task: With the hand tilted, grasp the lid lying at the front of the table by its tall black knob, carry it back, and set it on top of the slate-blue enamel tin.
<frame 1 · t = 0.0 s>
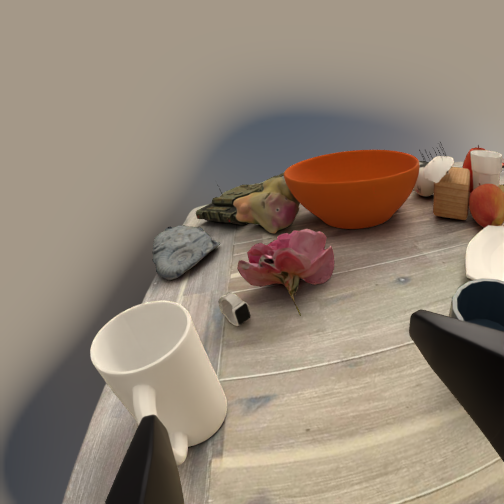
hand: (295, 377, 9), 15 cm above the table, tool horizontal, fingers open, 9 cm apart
flower: (291, 290, 40), on the table
sculpture: (259, 203, 64), point 4 cm above the table
toy tank: (258, 205, 75), on the table
apple 2: (493, 224, 38), point 2 cm above the table
tin: (482, 347, 23), on the table
fossil: (198, 281, 54), on the table
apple: (478, 194, 53), on the table, touching wooden block
pincushion: (443, 176, 45), point 7 cm above the table, touching wooden block
mug: (188, 430, 24), on the table
cup: (485, 211, 46), on the table
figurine: (441, 178, 55), point 4 cm above the table
wooden block: (450, 201, 44), point 4 cm above the table, touching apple, pincushion
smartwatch: (238, 323, 37), on the table
bowl: (357, 215, 57), on the table
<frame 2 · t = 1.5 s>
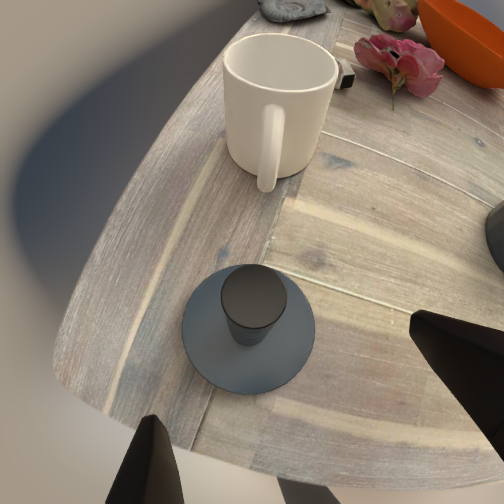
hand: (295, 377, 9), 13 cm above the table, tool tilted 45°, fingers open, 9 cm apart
flower: (389, 85, 34), on the table
lid: (248, 328, 22), point 1 cm above the table
fossil: (295, 33, 42), on the table
mug: (268, 162, 28), on the table
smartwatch: (336, 87, 33), on the table
bowl: (461, 64, 39), on the table
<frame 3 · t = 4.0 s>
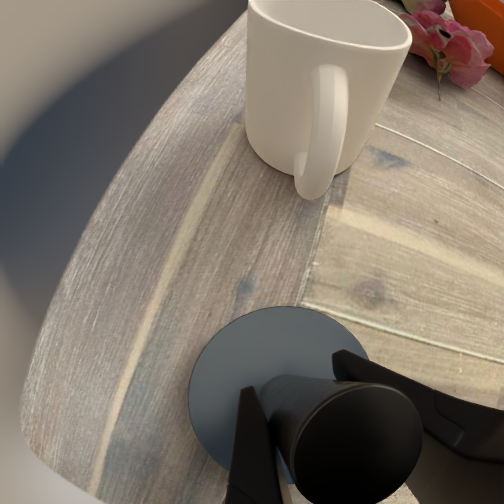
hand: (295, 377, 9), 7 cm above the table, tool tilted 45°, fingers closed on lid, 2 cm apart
flower: (430, 72, 26), on the table
lid: (284, 398, 14), point 1 cm above the table, touching gripper
mug: (301, 157, 20), on the table
bowl: (492, 57, 32), on the table
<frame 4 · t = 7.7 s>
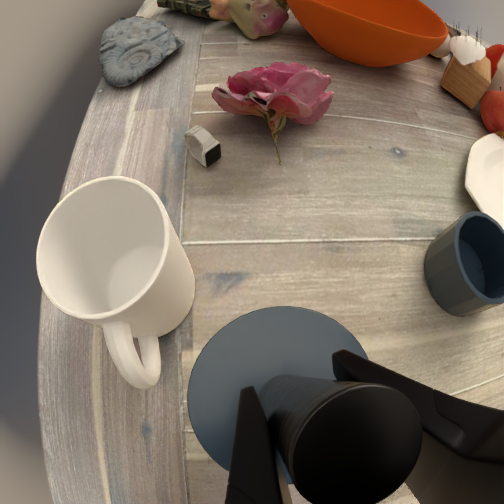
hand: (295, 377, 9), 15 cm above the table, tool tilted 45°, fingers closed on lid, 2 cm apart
flower: (270, 123, 32), on the table
lid: (284, 399, 14), point 9 cm above the table, touching gripper
sculpture: (240, 0, 38), point 4 cm above the table
apple 2: (498, 134, 32), point 2 cm above the table
tin: (457, 274, 26), on the table
fossil: (152, 85, 38), on the table
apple: (486, 83, 40), on the table, touching wooden block
pincushion: (467, 56, 30), point 7 cm above the table, touching wooden block
mug: (151, 312, 24), on the table
cup: (490, 108, 37), on the table
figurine: (456, 48, 38), point 4 cm above the table
wooden block: (465, 85, 32), point 4 cm above the table, touching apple, pincushion
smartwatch: (204, 160, 29), on the table
bowl: (354, 44, 39), on the table
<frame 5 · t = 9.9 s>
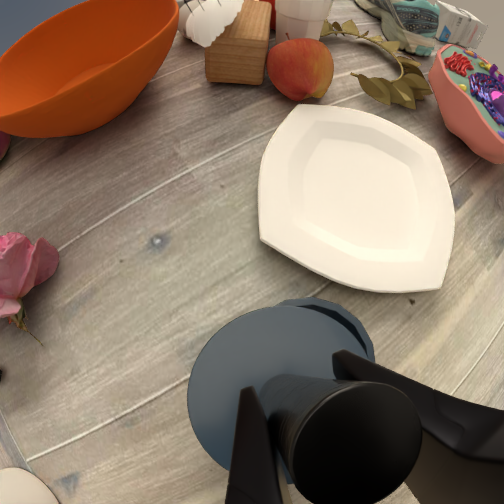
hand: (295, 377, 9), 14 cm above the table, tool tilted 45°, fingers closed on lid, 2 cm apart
flower: (23, 294, 23), on the table
lid: (284, 398, 14), point 8 cm above the table, touching gripper
cell model: (466, 130, 33), on the table
plate: (360, 195, 27), on the table
apple 2: (308, 99, 30), point 2 cm above the table
tin: (294, 368, 22), on the table
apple: (283, 28, 38), on the table, touching wooden block
pincushion: (221, 24, 26), point 8 cm above the table, touching wooden block
cup: (293, 60, 35), on the table
headpiece: (332, 51, 33), point 2 cm above the table
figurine: (223, 12, 34), point 4 cm above the table
ink box: (437, 19, 40), point 4 cm above the table
wooden block: (234, 63, 28), point 4 cm above the table, touching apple, pincushion
running shoe: (389, 22, 44), on the table
bowl: (92, 97, 32), on the table
when the fingers open (11 cm above the table, at t = 11.7 s): lid stays where it is, resting on tin.
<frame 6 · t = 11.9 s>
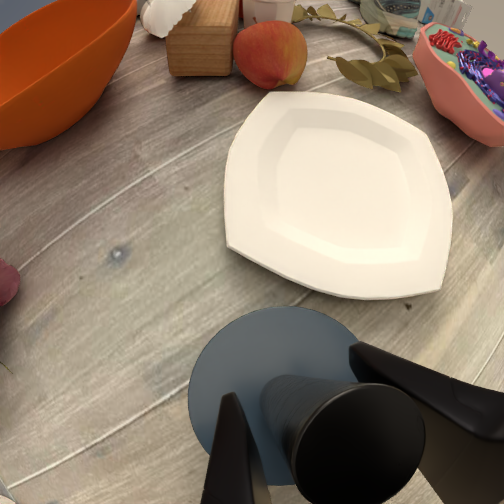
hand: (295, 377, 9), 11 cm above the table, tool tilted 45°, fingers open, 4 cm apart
lid: (285, 399, 14), point 5 cm above the table, touching tin
cell model: (457, 112, 30), on the table
plate: (344, 188, 25), on the table
apple 2: (280, 87, 27), point 2 cm above the table
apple: (255, 17, 35), on the table, touching wooden block
pincushion: (182, 14, 23), point 8 cm above the table, touching wooden block
cup: (265, 48, 32), on the table
headpiece: (306, 35, 30), point 2 cm above the table
ink box: (418, 1, 37), point 4 cm above the table
wooden block: (197, 53, 25), point 4 cm above the table, touching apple, pincushion
running shoe: (369, 6, 41), on the table
bowl: (55, 103, 28), on the table
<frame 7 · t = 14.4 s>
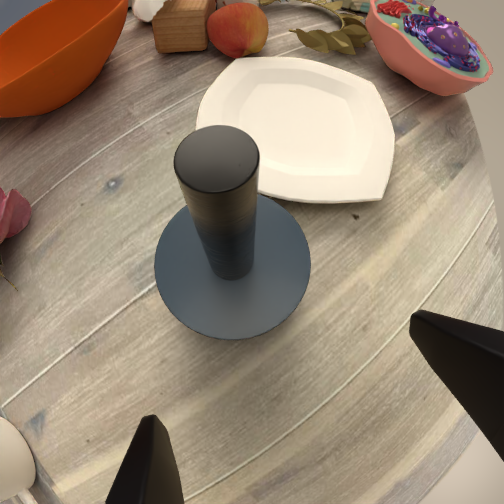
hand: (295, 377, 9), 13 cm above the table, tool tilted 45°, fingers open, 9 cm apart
flower: (2, 248, 24), on the table
lid: (231, 261, 19), point 5 cm above the table, touching tin
cell model: (413, 71, 34), on the table
plate: (297, 127, 29), on the table
apple 2: (246, 54, 31), point 2 cm above the table
pincushion: (165, 2, 27), point 8 cm above the table, touching wooden block
mug: (21, 467, 17), on the table
cup: (238, 27, 36), on the table
headpiece: (272, 14, 34), point 2 cm above the table
wooden block: (178, 33, 29), point 4 cm above the table, touching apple, pincushion
bowl: (61, 81, 33), on the table
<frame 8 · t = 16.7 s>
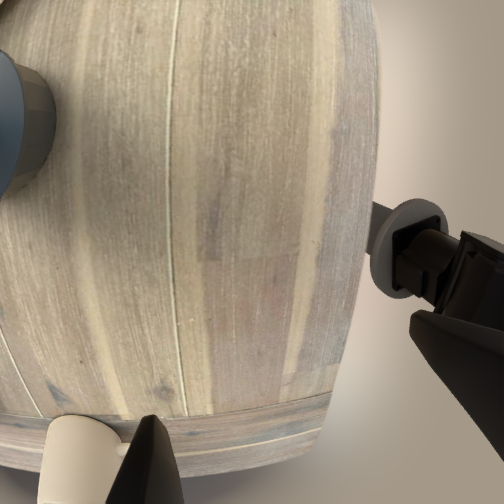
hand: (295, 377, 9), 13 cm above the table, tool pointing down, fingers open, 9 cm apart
tin: (1, 130, 14), on the table
mug: (100, 433, 25), on the table
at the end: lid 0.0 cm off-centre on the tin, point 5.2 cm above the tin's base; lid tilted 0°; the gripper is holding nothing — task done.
